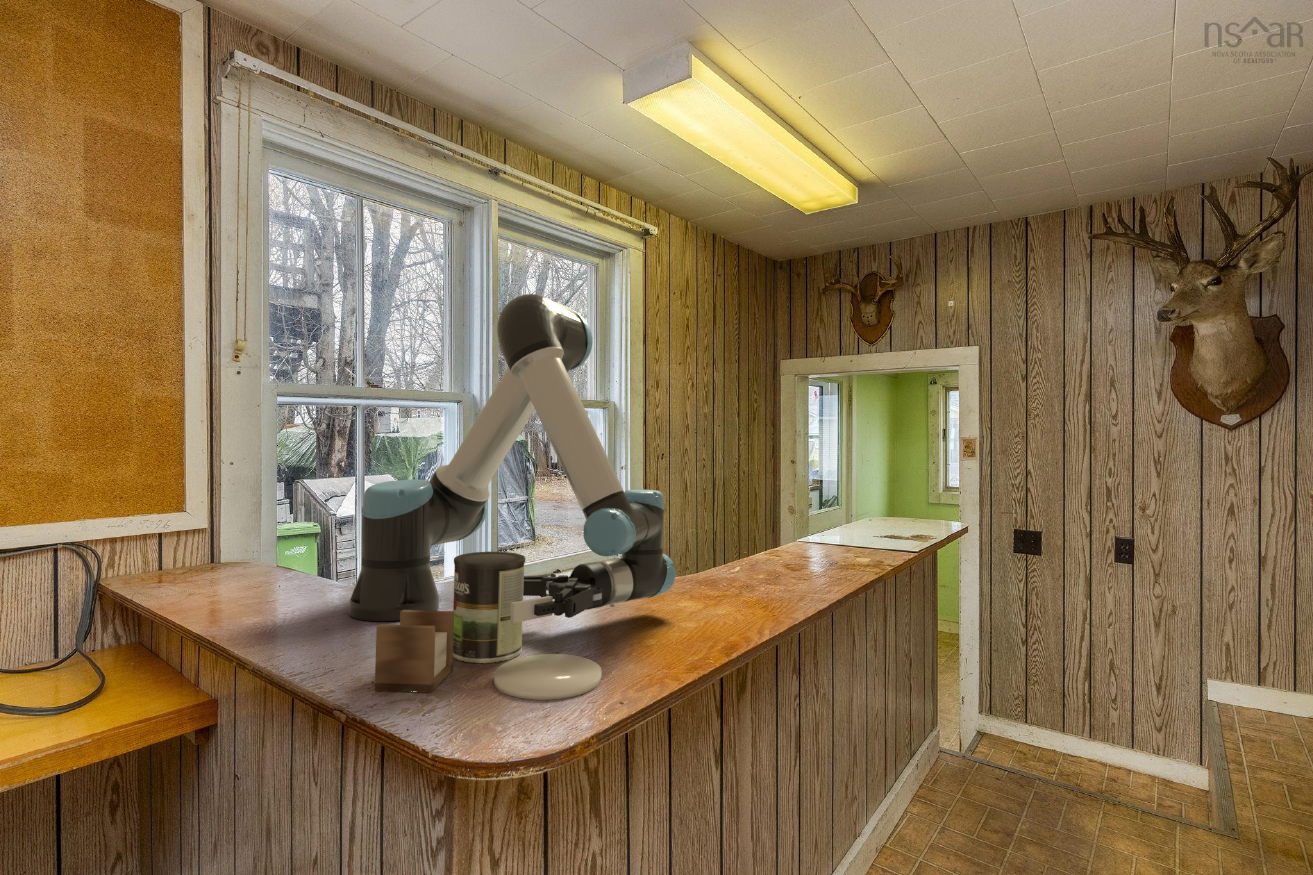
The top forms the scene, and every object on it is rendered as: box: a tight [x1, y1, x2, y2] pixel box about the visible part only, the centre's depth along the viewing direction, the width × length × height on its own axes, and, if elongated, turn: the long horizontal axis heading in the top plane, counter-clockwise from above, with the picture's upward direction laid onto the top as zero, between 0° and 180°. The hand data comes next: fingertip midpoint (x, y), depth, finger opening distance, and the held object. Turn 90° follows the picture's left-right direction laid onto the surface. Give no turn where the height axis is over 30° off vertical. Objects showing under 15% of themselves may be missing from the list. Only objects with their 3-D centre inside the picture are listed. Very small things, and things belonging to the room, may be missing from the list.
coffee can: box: [452, 551, 526, 664], centre depth 96 cm, size 10×10×14 cm
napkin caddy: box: [374, 610, 454, 693], centre depth 84 cm, size 7×8×8 cm
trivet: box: [493, 653, 603, 701], centre depth 86 cm, size 14×14×1 cm
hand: (487, 603), depth 95 cm, fingers open, 13 cm apart
